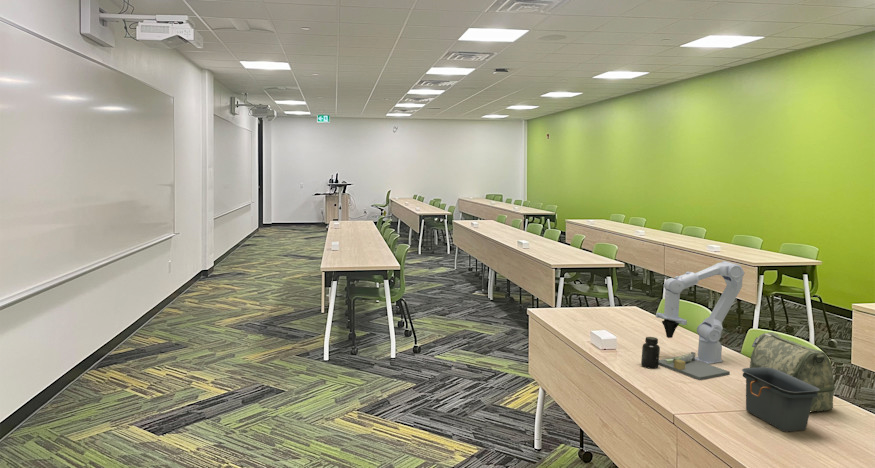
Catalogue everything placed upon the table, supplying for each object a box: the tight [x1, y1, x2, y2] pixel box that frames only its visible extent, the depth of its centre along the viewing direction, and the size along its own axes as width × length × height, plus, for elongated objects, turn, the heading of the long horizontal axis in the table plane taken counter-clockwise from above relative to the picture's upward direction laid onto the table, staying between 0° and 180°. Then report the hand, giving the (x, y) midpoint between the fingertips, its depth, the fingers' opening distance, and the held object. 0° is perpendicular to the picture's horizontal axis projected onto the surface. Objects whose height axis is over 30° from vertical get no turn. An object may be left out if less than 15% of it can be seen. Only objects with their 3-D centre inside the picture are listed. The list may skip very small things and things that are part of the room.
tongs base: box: [659, 351, 731, 381], centre depth 235 cm, size 18×22×5 cm
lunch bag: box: [749, 332, 836, 412], centre depth 203 cm, size 26×18×22 cm
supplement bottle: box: [640, 336, 661, 369], centre depth 236 cm, size 7×7×12 cm
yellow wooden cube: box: [674, 360, 686, 370], centre depth 231 cm, size 3×3×3 cm
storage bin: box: [741, 367, 820, 433], centre depth 184 cm, size 21×16×14 cm
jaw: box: [672, 352, 693, 363], centre depth 237 cm, size 13×2×2 cm, turn 129°
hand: (669, 337), depth 245 cm, fingers closed
